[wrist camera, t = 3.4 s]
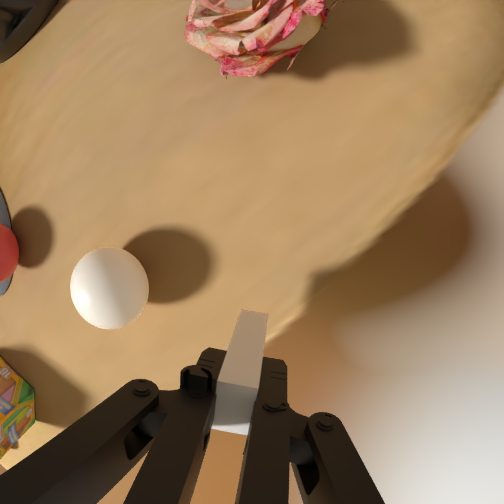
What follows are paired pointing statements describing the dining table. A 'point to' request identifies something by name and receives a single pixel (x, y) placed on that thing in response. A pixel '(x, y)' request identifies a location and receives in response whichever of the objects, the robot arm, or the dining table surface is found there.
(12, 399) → the chalk box
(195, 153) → the dining table surface
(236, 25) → the flower
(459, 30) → the dining table surface
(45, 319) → the dining table surface
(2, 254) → the red ball
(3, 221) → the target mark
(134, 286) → the cue ball
